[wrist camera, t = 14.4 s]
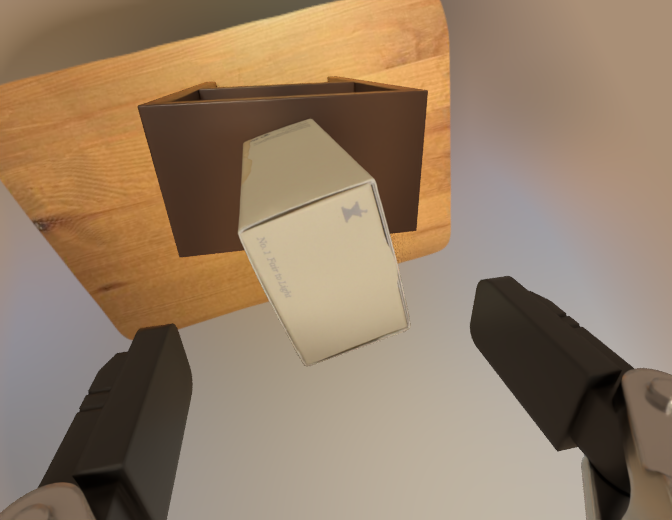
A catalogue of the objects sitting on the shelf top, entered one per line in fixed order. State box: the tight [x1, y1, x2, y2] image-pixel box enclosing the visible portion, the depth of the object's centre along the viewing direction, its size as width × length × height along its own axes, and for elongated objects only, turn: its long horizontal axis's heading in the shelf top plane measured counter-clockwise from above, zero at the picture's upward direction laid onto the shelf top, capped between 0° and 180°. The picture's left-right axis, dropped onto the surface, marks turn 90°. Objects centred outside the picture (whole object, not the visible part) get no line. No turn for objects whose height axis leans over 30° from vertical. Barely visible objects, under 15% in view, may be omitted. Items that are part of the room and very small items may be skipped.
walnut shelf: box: [138, 76, 428, 257], centre depth 34 cm, size 16×9×28 cm, turn 92°
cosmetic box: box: [238, 119, 411, 366], centre depth 17 cm, size 6×4×12 cm
